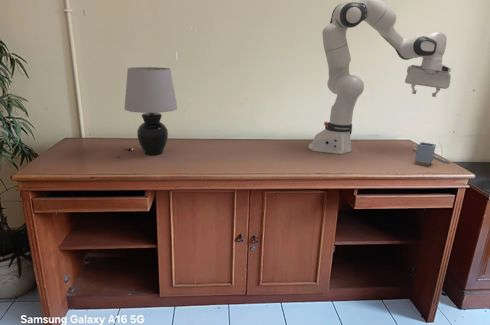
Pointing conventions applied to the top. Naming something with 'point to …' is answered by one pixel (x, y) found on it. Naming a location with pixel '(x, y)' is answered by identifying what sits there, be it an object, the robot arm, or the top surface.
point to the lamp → (150, 104)
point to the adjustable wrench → (436, 157)
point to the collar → (425, 152)
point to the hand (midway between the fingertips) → (423, 95)
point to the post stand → (422, 163)
